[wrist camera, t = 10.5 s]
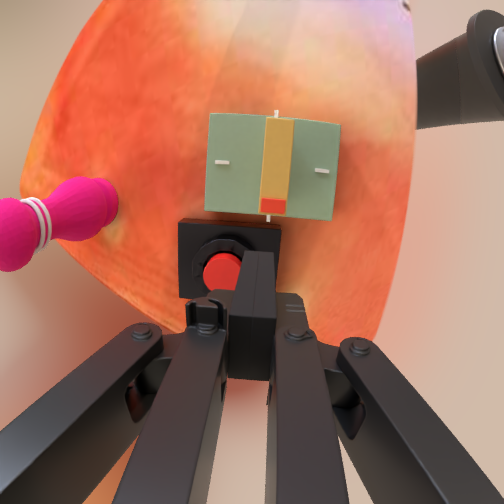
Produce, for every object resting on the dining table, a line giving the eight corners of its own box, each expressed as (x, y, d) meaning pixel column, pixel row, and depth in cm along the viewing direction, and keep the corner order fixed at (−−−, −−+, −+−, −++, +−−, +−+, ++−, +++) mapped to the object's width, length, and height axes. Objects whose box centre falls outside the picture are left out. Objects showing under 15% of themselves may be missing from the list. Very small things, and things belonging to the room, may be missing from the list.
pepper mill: (130, 219, 32) (11, 285, 13) (88, 238, 33) (-24, 304, 14) (111, 164, 30) (-22, 182, 11) (70, 187, 31) (-53, 222, 12)
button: (245, 254, 29) (244, 259, 27) (243, 289, 30) (242, 297, 29) (206, 250, 29) (203, 256, 28) (206, 286, 30) (202, 293, 29)
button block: (280, 225, 32) (282, 233, 28) (272, 297, 34) (273, 314, 31) (183, 218, 32) (172, 225, 28) (183, 290, 35) (174, 305, 31)
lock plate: (334, 122, 28) (341, 118, 25) (325, 221, 31) (331, 227, 28) (215, 112, 28) (210, 107, 25) (209, 211, 32) (203, 217, 29)
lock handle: (265, 129, 26) (266, 116, 18) (285, 131, 26) (295, 119, 18) (259, 199, 28) (257, 214, 20) (279, 201, 28) (286, 217, 20)
